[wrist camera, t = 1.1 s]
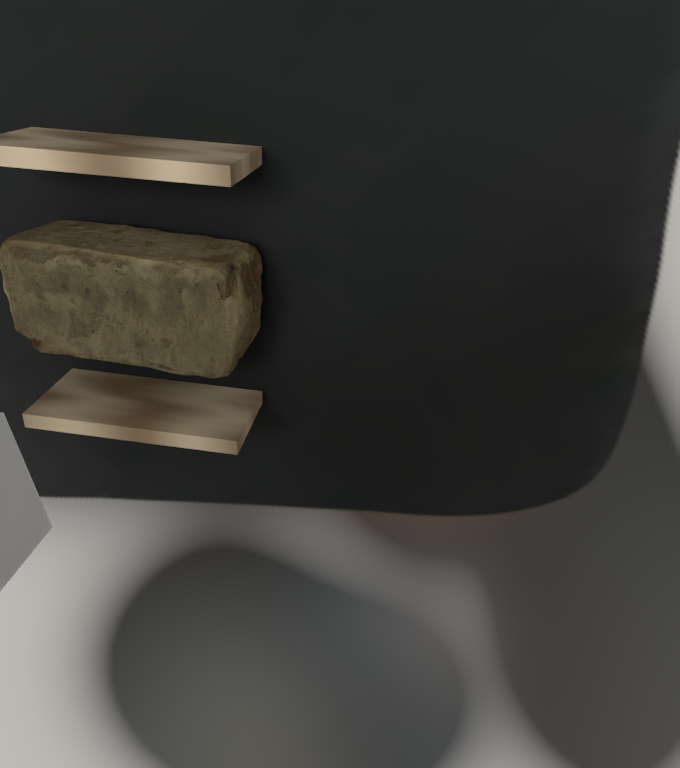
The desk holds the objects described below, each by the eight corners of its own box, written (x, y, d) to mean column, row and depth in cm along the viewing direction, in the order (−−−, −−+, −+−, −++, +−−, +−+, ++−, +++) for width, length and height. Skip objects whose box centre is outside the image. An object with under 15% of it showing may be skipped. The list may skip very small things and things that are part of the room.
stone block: (45, 210, 32) (-17, 237, 27) (269, 235, 31) (241, 267, 26) (61, 317, 35) (8, 357, 30) (267, 342, 34) (242, 387, 29)
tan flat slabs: (74, 380, 36) (25, 427, 32) (32, 126, 30) (-38, 142, 25) (262, 403, 35) (237, 454, 31) (261, 146, 29) (230, 165, 24)
